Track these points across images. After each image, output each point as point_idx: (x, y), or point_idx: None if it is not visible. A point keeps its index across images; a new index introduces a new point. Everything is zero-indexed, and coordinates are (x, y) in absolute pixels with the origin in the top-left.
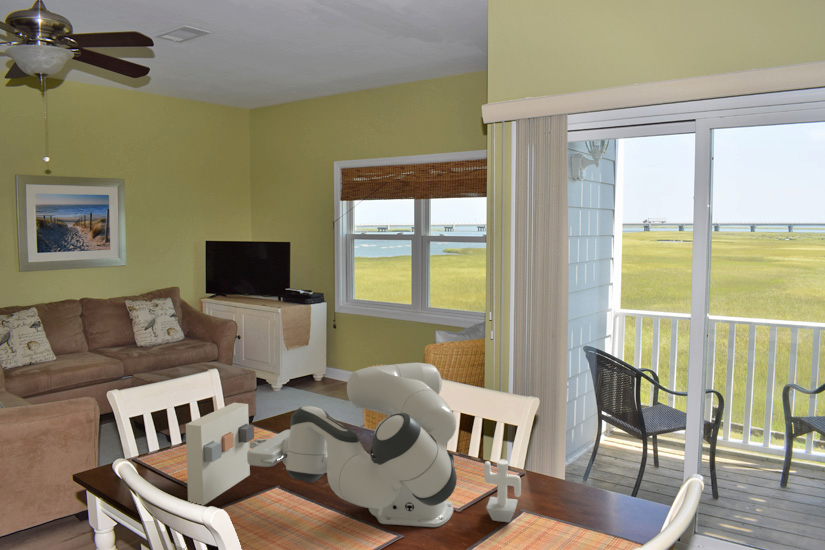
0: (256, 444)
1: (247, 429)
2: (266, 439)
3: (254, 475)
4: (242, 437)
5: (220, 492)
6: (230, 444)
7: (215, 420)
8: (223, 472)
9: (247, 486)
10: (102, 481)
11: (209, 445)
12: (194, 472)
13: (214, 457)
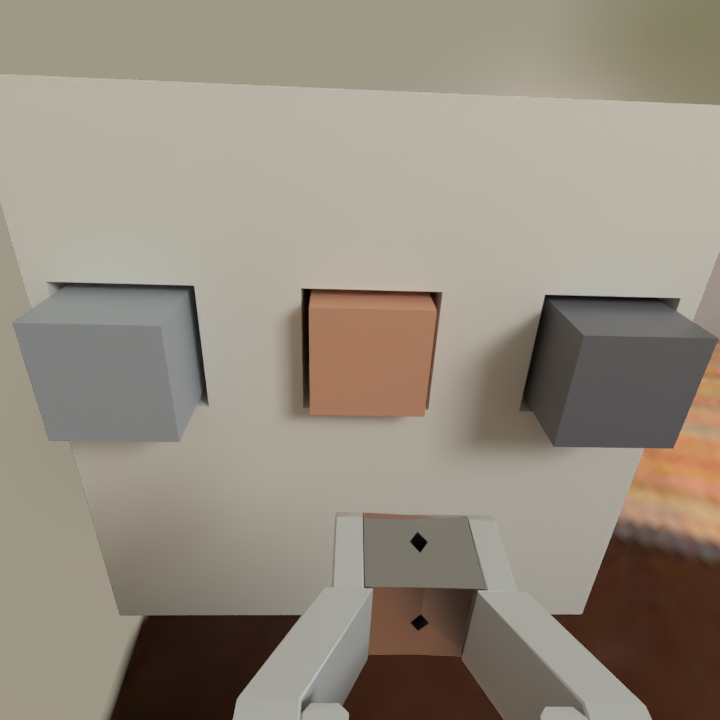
0: (291, 640)
1: (604, 343)
2: (579, 690)
3: (598, 645)
4: (548, 388)
5: (281, 608)
6: (383, 388)
7: (202, 95)
8: (316, 527)
9: (445, 708)
10: None
11: (86, 301)
12: None
13: (76, 415)
